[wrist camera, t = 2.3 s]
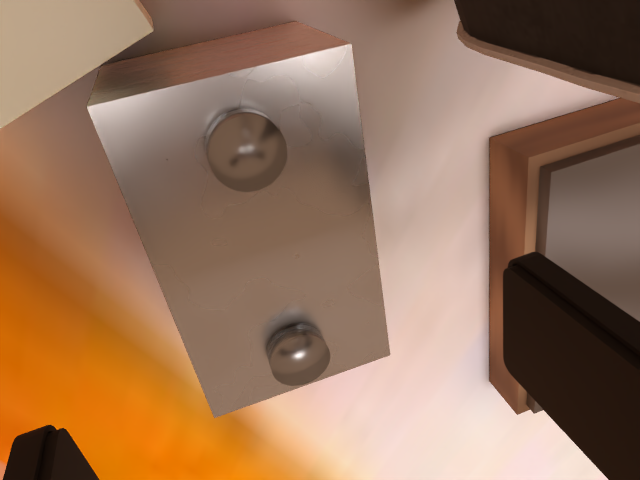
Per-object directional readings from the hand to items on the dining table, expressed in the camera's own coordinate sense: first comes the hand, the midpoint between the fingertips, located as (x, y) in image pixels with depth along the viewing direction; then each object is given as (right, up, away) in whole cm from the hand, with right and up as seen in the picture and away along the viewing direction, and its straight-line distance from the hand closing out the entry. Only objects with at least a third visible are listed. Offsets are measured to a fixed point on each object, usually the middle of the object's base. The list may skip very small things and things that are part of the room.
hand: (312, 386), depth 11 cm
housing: (-3, +5, +8) cm, 9 cm away
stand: (+13, +3, +14) cm, 19 cm away
